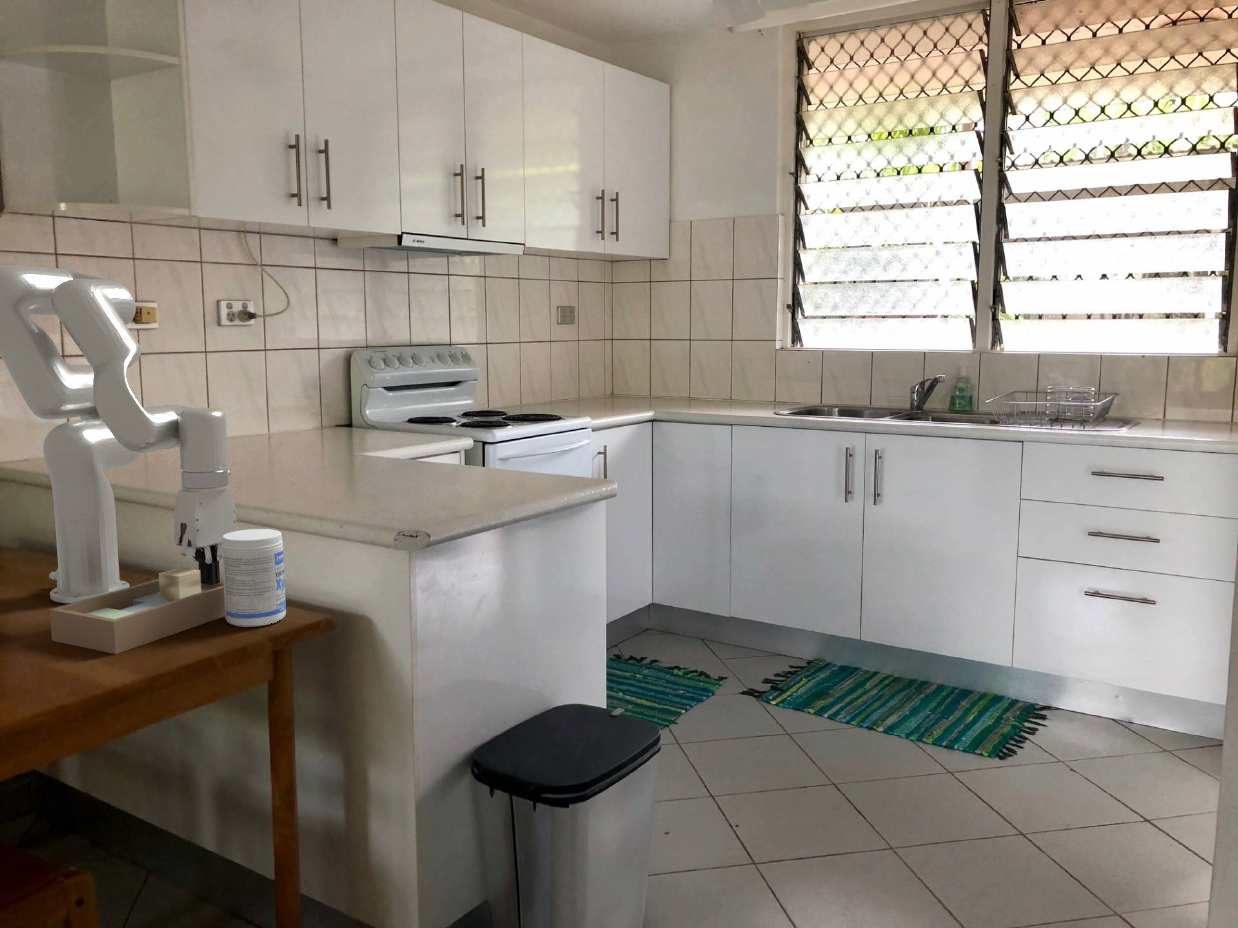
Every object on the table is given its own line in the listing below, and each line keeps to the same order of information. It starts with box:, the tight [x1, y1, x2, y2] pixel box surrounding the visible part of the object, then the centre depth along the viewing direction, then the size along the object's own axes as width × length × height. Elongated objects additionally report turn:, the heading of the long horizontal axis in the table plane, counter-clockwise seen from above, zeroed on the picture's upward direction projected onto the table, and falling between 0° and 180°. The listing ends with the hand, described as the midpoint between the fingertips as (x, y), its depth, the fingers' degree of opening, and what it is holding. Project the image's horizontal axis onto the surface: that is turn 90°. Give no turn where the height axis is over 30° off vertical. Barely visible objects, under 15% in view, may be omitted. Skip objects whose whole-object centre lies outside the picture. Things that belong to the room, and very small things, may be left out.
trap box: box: [49, 578, 226, 655], centre depth 158 cm, size 14×24×5 cm, turn 156°
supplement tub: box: [221, 528, 287, 628], centre depth 161 cm, size 10×10×15 cm
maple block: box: [158, 566, 202, 601], centre depth 163 cm, size 4×4×4 cm
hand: (209, 583), depth 169 cm, fingers closed
